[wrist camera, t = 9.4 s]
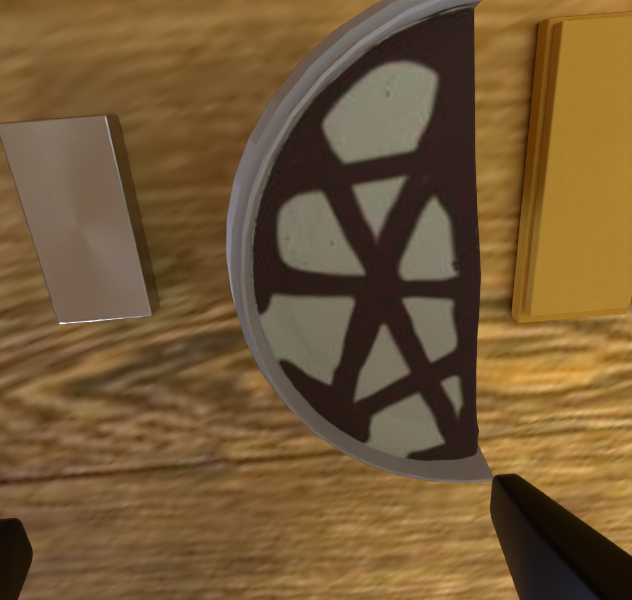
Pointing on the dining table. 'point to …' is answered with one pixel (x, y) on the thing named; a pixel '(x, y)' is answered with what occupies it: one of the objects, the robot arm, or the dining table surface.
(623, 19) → the yellow brown rectangular slab
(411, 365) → the food container
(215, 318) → the dining table surface
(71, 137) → the silver flat block
